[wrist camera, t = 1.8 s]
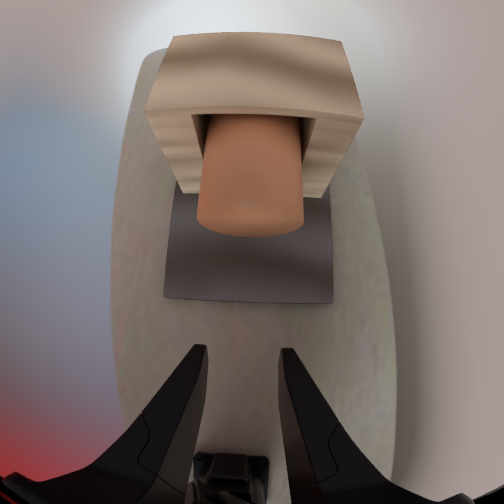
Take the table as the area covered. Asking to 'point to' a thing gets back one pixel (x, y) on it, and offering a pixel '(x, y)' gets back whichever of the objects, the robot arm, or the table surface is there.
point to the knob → (251, 175)
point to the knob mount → (253, 102)
